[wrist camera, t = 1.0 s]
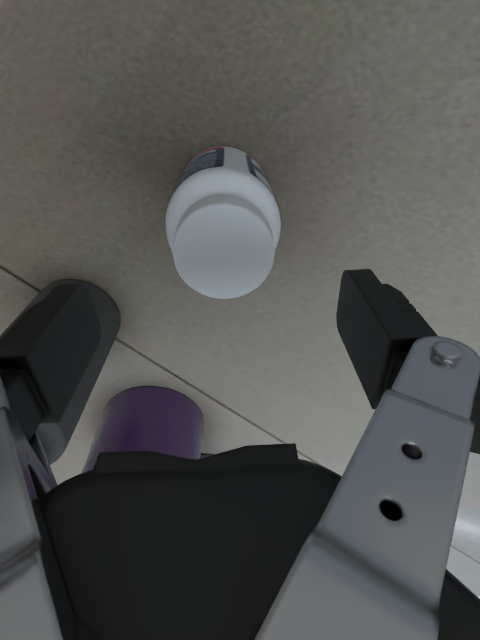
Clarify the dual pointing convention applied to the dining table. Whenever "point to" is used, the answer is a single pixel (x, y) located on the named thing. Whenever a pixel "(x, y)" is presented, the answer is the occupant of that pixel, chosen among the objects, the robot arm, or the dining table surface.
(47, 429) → the bottle
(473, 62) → the dining table surface
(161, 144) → the dining table surface
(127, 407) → the jar
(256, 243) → the pill bottle
